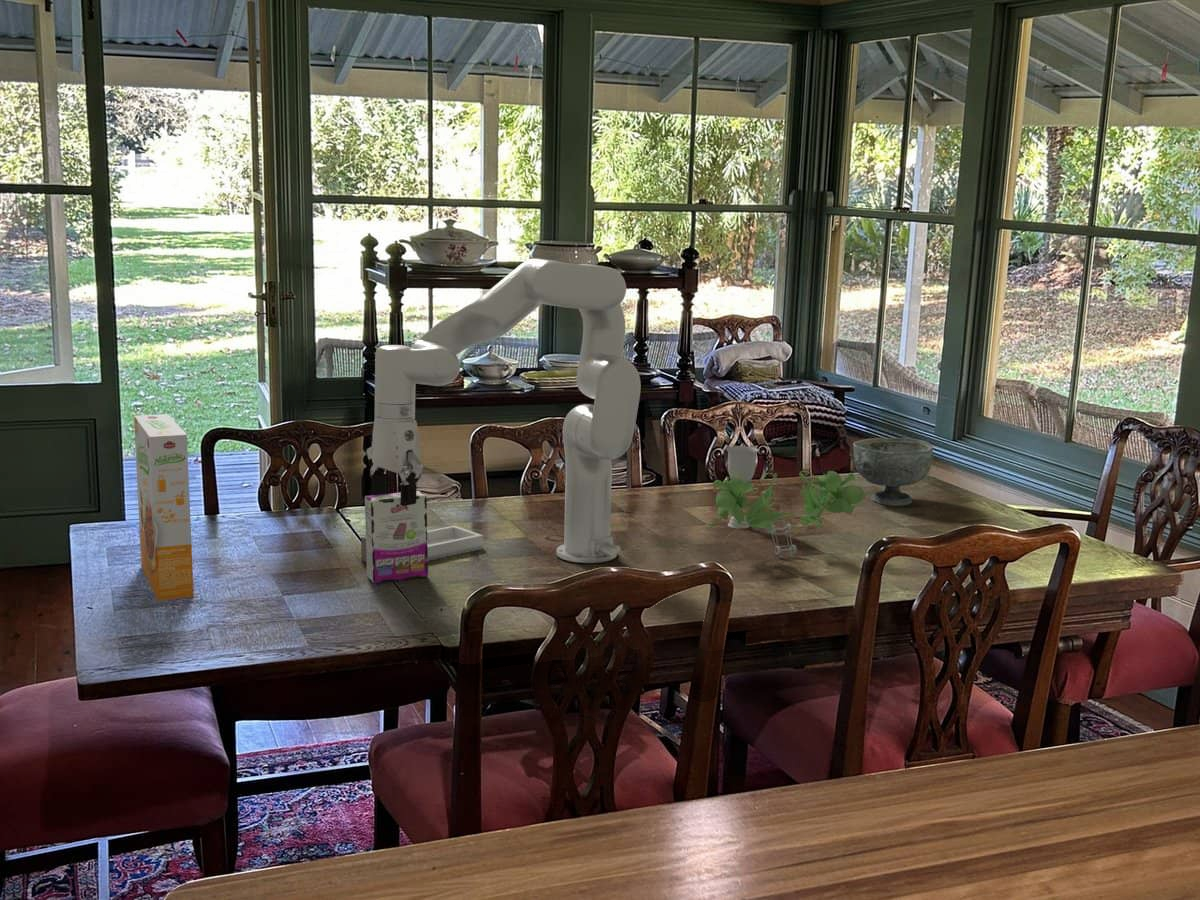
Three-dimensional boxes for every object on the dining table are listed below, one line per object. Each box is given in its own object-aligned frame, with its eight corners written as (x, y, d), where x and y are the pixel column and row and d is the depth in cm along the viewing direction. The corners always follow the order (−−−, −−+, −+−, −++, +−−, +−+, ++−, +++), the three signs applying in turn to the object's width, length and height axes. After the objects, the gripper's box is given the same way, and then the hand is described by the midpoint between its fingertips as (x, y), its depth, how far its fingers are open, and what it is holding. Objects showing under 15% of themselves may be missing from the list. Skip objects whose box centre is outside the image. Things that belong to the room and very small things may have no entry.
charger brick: (389, 560, 249) (389, 530, 247) (375, 564, 245) (374, 534, 244) (376, 556, 251) (375, 527, 250) (361, 560, 248) (361, 531, 246)
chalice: (719, 527, 281) (722, 450, 277) (727, 520, 287) (731, 444, 283) (750, 531, 278) (754, 453, 274) (758, 524, 284) (762, 448, 280)
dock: (483, 549, 258) (483, 535, 257) (420, 562, 247) (420, 548, 247) (454, 538, 265) (454, 525, 264) (392, 551, 254) (392, 537, 254)
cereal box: (141, 566, 240) (133, 415, 234) (174, 563, 243) (168, 413, 237) (157, 600, 220) (149, 436, 214) (193, 596, 223) (186, 434, 217)
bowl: (847, 490, 321) (851, 433, 318) (923, 494, 318) (928, 437, 315) (852, 508, 301) (856, 448, 298) (933, 513, 299) (938, 452, 296)
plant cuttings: (691, 582, 262) (729, 543, 243) (675, 508, 269) (711, 465, 250) (836, 570, 273) (883, 532, 254) (817, 500, 280) (862, 458, 261)
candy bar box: (420, 570, 242) (419, 489, 239) (428, 577, 238) (428, 495, 235) (364, 577, 237) (363, 494, 234) (372, 584, 233) (371, 500, 230)
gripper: (438, 416, 227) (436, 506, 231) (385, 403, 240) (384, 488, 243) (404, 419, 222) (403, 511, 226) (352, 406, 235) (352, 493, 238)
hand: (393, 499), depth 234 cm, fingers open, 9 cm apart
